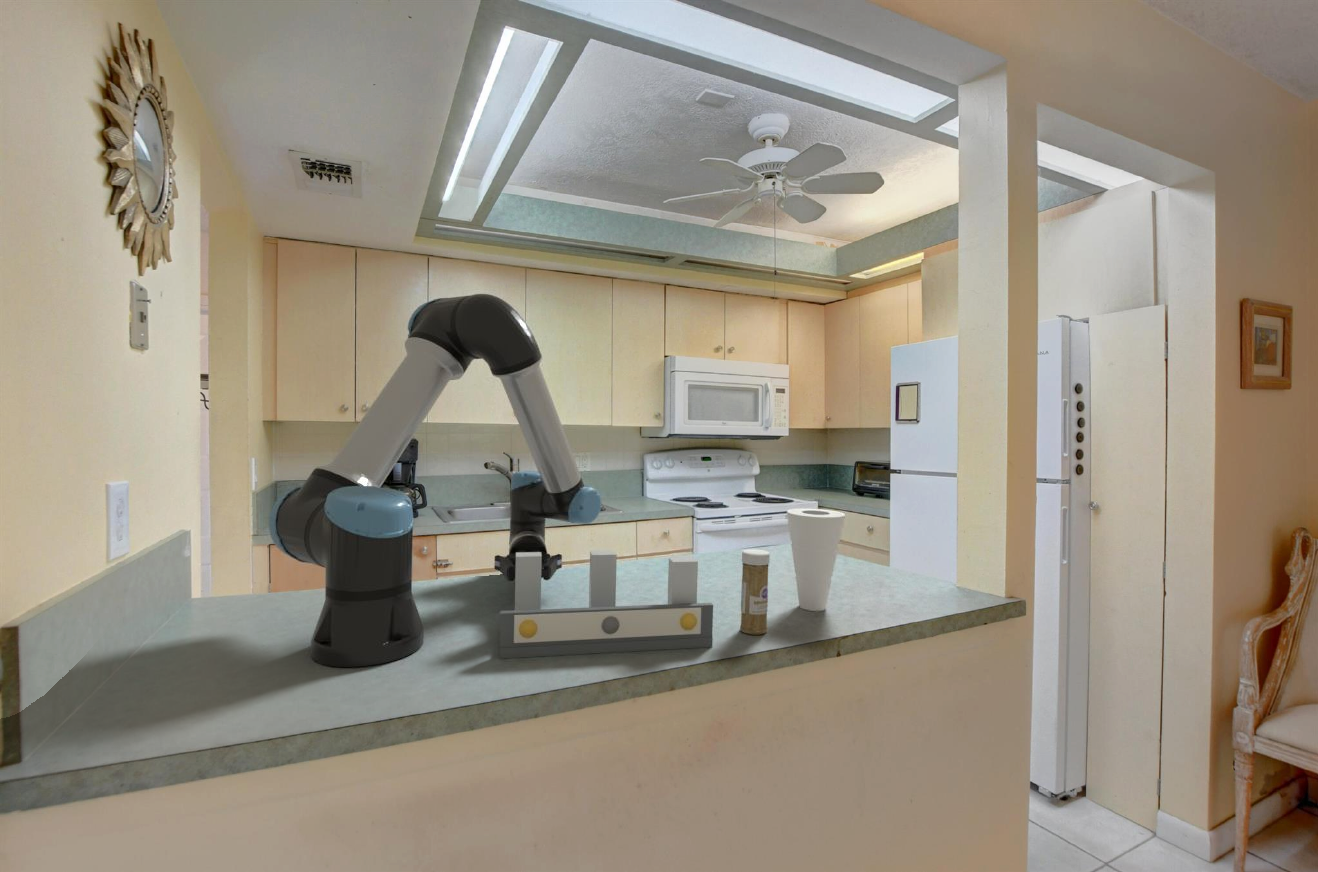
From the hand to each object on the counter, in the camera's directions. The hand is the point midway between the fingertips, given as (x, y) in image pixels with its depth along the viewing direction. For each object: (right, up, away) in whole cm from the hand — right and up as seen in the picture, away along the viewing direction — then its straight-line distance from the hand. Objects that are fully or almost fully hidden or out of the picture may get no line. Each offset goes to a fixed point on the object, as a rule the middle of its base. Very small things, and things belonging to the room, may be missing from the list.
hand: (530, 584), depth 105 cm
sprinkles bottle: (+37, -8, +1) cm, 38 cm away
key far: (+25, -6, -4) cm, 26 cm away
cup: (+50, -8, +15) cm, 53 cm away
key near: (0, -5, -4) cm, 6 cm away
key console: (+13, -7, -4) cm, 15 cm away
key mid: (+12, -5, -1) cm, 13 cm away
